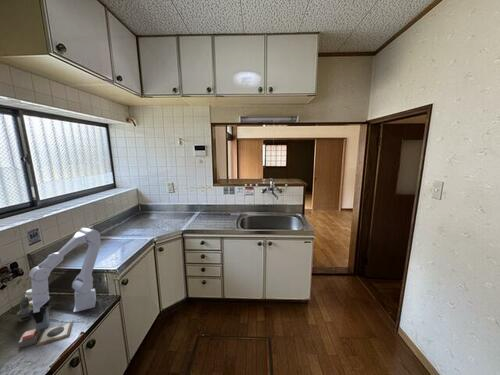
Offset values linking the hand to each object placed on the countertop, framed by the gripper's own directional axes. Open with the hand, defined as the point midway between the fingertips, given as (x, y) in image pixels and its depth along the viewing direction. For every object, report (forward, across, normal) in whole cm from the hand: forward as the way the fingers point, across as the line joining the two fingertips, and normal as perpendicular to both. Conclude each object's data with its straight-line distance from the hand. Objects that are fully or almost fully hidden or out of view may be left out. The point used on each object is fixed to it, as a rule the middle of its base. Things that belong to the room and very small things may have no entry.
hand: (41, 317), depth 105 cm
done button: (+3, +9, -2) cm, 9 cm away
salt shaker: (+5, -12, -9) cm, 16 cm away
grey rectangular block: (+5, 0, 0) cm, 5 cm away
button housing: (+5, +9, -2) cm, 10 cm away
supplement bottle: (+5, -22, -9) cm, 24 cm away
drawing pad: (+5, +9, +7) cm, 12 cm away
